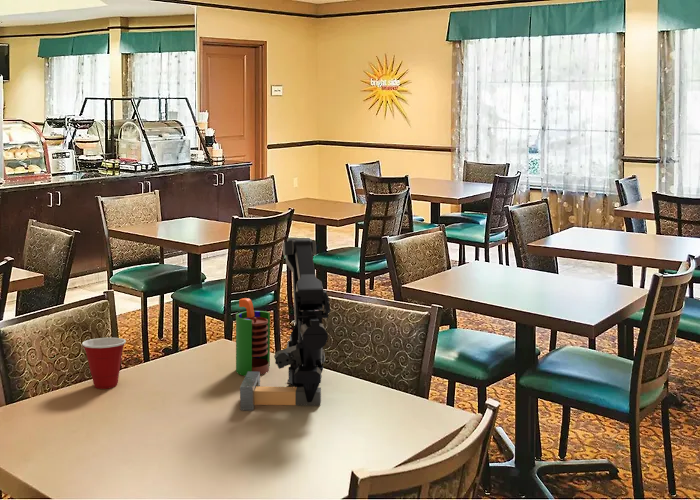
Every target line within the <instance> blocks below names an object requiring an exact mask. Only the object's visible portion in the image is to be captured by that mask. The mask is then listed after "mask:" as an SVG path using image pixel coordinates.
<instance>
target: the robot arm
mask: <svg viewBox="0 0 700 500" xmlns="http://www.w3.org/2000/svg"><path fill="white" fill-rule="evenodd" d="M282 253H283V256H284V257H285V264H286V265H287V267H288V269H290V271H291V273H292V275H291V276H292V290H293V294H292V295H293V296H292V297H293V310H294V327H293V328H292V331H291V333H290V335H289V340H287V344H286V348H282V349H280V350H278V351H276V352H275V354H274V356H273V357H274V360H275V365H276V366H277V368H278V369H279V370H280V369H283V368H285V367H287V366H288V379H287V383H289V384H290V385H292V387H304V391H305V395H306V399H307V402H312V400H313V398H314V395H315V393H316V390H317V388H318V387H320V384H321V383H322V377H323V375H322V373H323V370H324V365H322V364H323V363H325V360H326V358H325V354H326V352H325V351H324V349H323V348H324V347H325V345H326V344H327V343H328V340H329V337H328V332H327V331H326V329H325V326H324V324H323V319H328V318H329V314H330V312H331V305H330V298H329V294H327V290H324V285H323V281H322V280H320V279H318V278H317V276H316V269H315V265H314V256H316V255H317V240H312V239H311V238H310V237H299V238H298V237H295V238H294V237H291V238H290V237H289V238H287V239H286V241H283V243H282Z"/></svg>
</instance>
